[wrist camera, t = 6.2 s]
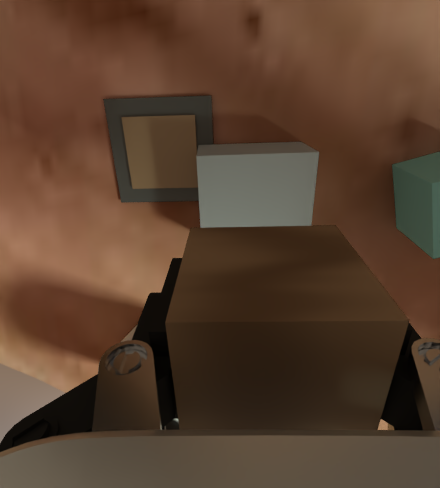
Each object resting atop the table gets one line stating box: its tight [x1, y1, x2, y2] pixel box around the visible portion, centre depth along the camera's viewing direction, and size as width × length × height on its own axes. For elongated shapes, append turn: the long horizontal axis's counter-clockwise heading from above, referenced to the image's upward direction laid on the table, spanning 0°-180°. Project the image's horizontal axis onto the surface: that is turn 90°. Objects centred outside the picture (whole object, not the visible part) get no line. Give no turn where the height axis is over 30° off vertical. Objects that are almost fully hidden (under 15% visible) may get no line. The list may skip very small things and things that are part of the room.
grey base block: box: [196, 142, 319, 228], centre depth 21 cm, size 7×7×4 cm
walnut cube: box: [165, 225, 409, 430], centre depth 10 cm, size 5×5×5 cm
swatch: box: [103, 96, 213, 202], centre depth 22 cm, size 7×7×1 cm
